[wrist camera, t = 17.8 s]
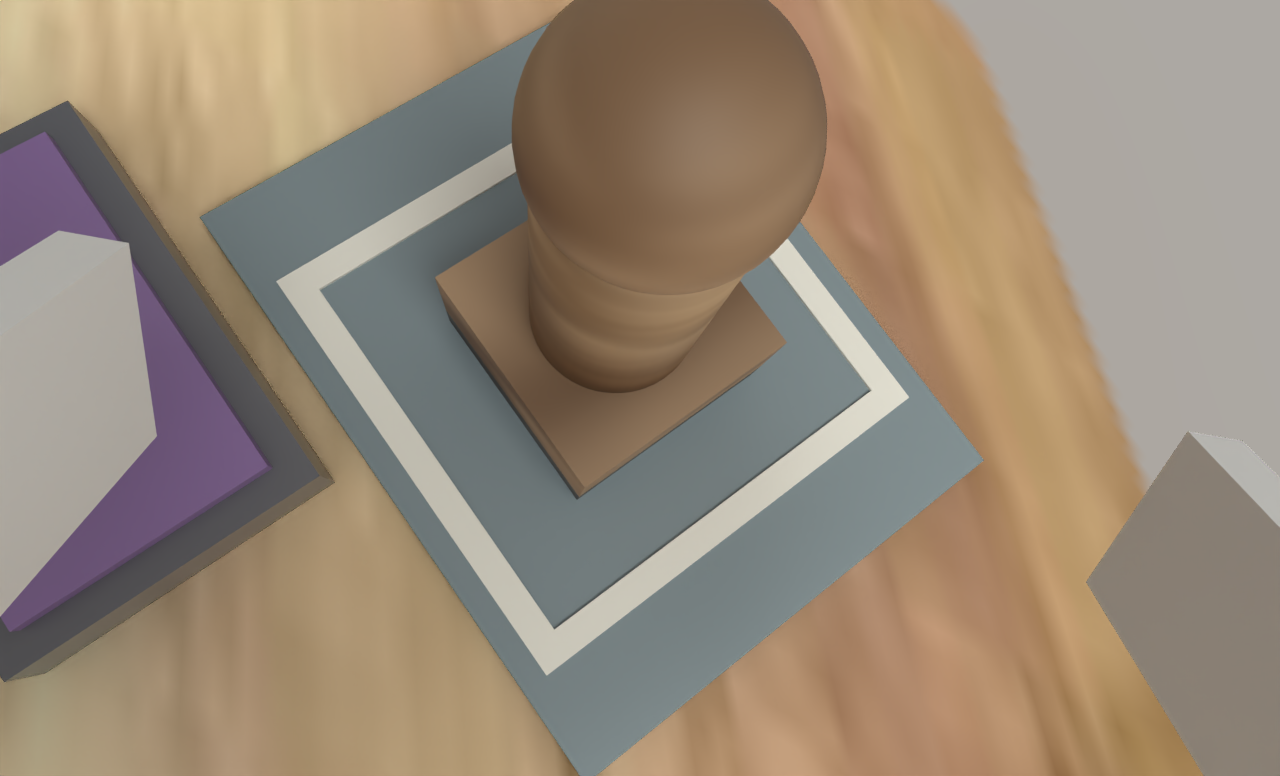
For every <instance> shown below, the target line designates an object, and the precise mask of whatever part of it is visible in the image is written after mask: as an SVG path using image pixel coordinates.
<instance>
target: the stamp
mask: <svg viewBox="0 0 1280 776" xmlns="http://www.w3.org/2000/svg"><path fill="white" fill-rule="evenodd" d="M826 139H827V114H826V104H825V99H824V95H823V90H822V86H821V82H820V78H819V74H818V72H817V69H816V66H815V64H814V61H813V59H812V57H811V55H810V53H809V51H808V49H807V47H806V46H805V44H804V42H803V40H802V39H801V37H800V36H799V34H798V33H797V32H796V30H795V29H794V27H793V26H792V24H791V23H790V22H789V21H788V20H787V18H786V17H785V16H784V15H783V14H782V13H781V12H780V11H779V10H778V9H777V8H776V7H775V6H774V5H773V4H772V3H771V2H769V1H768V0H574V1H572V2H571V3H570V4H569V5H568V6H567V7H565V8H564V9H563V10H562V11H561V12H560V13H559V14H558V15H557V16H556V17H555V18H554V20H553V21H552V22H551V23H550V24H549V25H548V26H547V28H546V29H545V31H544V32H543V34H542V35H541V37H540V39H539V40H538V42H537V43H536V45H535V46H534V48H533V49H532V51H531V53H530V55H529V57H528V60H527V62H526V64H525V66H524V69H523V72H522V74H521V77H520V81H519V84H518V88H517V91H516V95H515V100H514V107H513V115H512V150H513V156H514V162H515V168H516V173H517V177H518V180H519V183H520V187H521V190H522V193H523V195H524V197H525V199H526V201H527V207H528V220H527V221H525V222H524V223H522V224H521V225H519V226H517V227H516V228H514V229H512V230H511V231H509V232H508V233H506V234H504V235H503V236H501V237H499V238H498V239H496V240H495V241H493V242H491V243H490V244H488V245H486V246H485V247H483V248H482V249H480V250H478V251H477V252H475V253H474V254H472V255H470V256H469V257H467V258H465V259H464V260H462V261H461V262H459V263H457V264H456V265H454V266H452V267H451V268H449V269H448V270H446V271H444V272H443V273H441V274H439V275H438V276H436V277H435V280H436V282H437V285H438V288H439V291H440V294H441V297H442V300H443V303H444V306H445V309H446V312H447V314H448V317H449V320H450V322H451V323H452V325H453V326H454V328H455V329H456V330H457V332H458V333H459V335H460V336H461V337H462V339H463V340H464V342H465V343H466V345H467V346H468V347H469V349H470V350H471V352H472V353H473V354H474V356H475V357H476V359H477V360H478V361H479V363H480V364H481V366H482V367H483V368H484V370H485V371H486V373H487V374H488V375H489V377H490V378H491V380H492V381H493V383H494V384H495V385H496V387H497V388H498V390H499V391H500V392H501V394H502V395H503V397H504V398H505V399H506V401H507V402H508V404H509V405H510V406H511V408H512V409H513V411H514V412H515V414H516V415H517V416H518V418H519V419H520V421H521V422H522V423H523V425H524V426H525V428H526V429H527V430H528V432H529V433H530V435H531V436H532V437H533V439H534V440H535V442H536V443H537V444H538V446H539V447H540V449H541V450H542V452H543V453H544V454H545V456H546V457H547V459H548V460H549V461H550V463H551V464H552V466H553V467H554V468H555V470H556V471H557V473H558V474H559V475H560V477H561V478H562V480H563V481H564V482H565V484H566V485H567V487H568V488H569V490H570V491H571V492H572V494H573V495H574V497H575V498H576V499H577V500H578V499H579V498H580V497H582V496H583V495H585V494H586V493H587V492H589V491H590V490H591V489H593V488H594V487H596V486H597V485H598V484H600V483H601V482H603V481H604V480H605V479H607V478H608V477H610V476H611V475H612V474H614V473H615V472H616V471H618V470H619V469H621V468H622V467H623V466H625V465H626V464H628V463H629V462H630V461H632V460H633V459H635V458H636V457H637V456H639V455H640V454H641V453H643V452H644V451H646V450H647V449H648V448H650V447H651V446H653V445H654V444H655V443H657V442H658V441H660V440H661V439H662V438H664V437H665V436H667V435H668V434H669V433H671V432H672V431H673V430H675V429H676V428H678V427H679V426H680V425H682V424H683V423H685V422H686V421H687V420H689V419H690V418H692V417H693V416H694V415H696V414H697V413H698V412H700V411H701V410H703V409H704V408H705V407H707V406H708V405H710V404H711V403H712V402H714V401H715V400H717V399H718V398H719V397H721V396H722V395H723V394H725V393H726V392H728V391H729V390H730V389H732V388H733V387H735V386H736V385H737V384H739V383H740V382H742V381H743V380H744V379H746V378H747V377H748V376H750V375H751V374H752V373H753V372H754V371H756V370H757V369H758V368H759V367H760V366H761V365H762V364H764V363H765V362H766V361H767V360H768V359H769V358H770V357H771V356H773V355H774V354H775V353H776V352H777V351H778V350H779V349H781V348H782V347H783V346H784V345H785V344H786V343H787V342H786V340H785V339H784V338H783V336H782V335H781V334H780V333H779V331H778V330H777V329H776V327H775V326H774V325H773V323H772V322H771V321H770V319H769V318H768V317H767V315H766V314H765V313H764V311H763V310H762V309H761V307H760V306H759V305H758V304H757V302H756V301H755V300H754V298H753V297H752V296H751V294H750V293H749V292H748V290H747V289H746V288H745V286H744V285H743V284H742V282H741V281H740V280H741V279H742V277H743V276H744V274H746V273H747V272H749V271H751V270H753V269H754V268H756V267H757V266H758V265H760V264H761V263H762V262H763V261H765V260H766V259H767V258H769V257H770V256H771V255H772V254H773V253H774V252H775V251H776V250H777V249H778V248H779V247H780V246H781V245H782V244H783V243H784V242H785V240H786V239H787V238H788V237H789V236H790V235H791V233H792V232H793V231H794V229H795V228H796V226H797V225H798V224H799V222H800V221H801V219H802V217H803V215H804V214H805V212H806V210H807V208H808V206H809V204H810V202H811V200H812V198H813V196H814V194H815V191H816V188H817V185H818V182H819V179H820V176H821V172H822V169H823V164H824V158H825V153H826Z"/></svg>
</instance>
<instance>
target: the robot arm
mask: <svg viewBox="0 0 1280 776" xmlns="http://www.w3.org/2000/svg"><path fill="white" fill-rule="evenodd" d="M156 437H157V433H156V426H155V419H154V413H153V406H152V399H151V392H150V385H149V378H148V371H147V364H146V357H145V351H144V344H143V337H142V330H141V323H140V316H139V309H138V302H137V295H136V288H135V282H134V275H133V268H132V261H131V254H130V247H129V243H126V242H120V241H115V240H109V239H104V238H98V237H92V236H87V235H81V234H75V233H70V232H64V231H57V232H55V233H54V234H52V235H50V236H49V237H47V238H46V239H44V240H42V241H41V242H39V243H37V244H36V245H34V246H33V247H31V248H29V249H28V250H26V251H24V252H23V253H21V254H20V255H18V256H16V257H15V258H13V259H11V260H10V261H8V262H6V263H5V264H3V265H2V266H0V616H1V615H2V614H3V613H4V612H5V610H6V609H7V608H8V607H9V606H10V605H11V604H12V602H13V601H14V600H15V599H16V598H17V597H18V595H19V594H20V593H21V592H22V591H23V590H24V589H25V587H26V586H27V585H28V584H29V583H30V582H31V580H32V579H33V578H34V577H35V576H36V575H37V574H38V572H39V571H40V570H41V569H42V568H43V567H44V566H45V564H46V563H47V562H48V561H49V560H50V559H51V557H52V556H53V555H54V554H55V553H56V552H57V551H58V549H59V548H60V547H61V546H62V545H63V544H64V542H65V541H66V540H67V539H68V538H69V537H70V536H71V534H72V533H73V532H74V531H75V530H76V529H77V528H78V526H79V525H80V524H81V523H82V522H83V521H84V519H85V518H86V517H87V516H88V515H89V514H90V513H91V511H92V510H93V509H94V508H95V507H96V506H97V504H98V503H99V502H100V501H101V500H102V499H103V498H104V496H105V495H106V494H107V493H108V492H109V491H110V489H111V488H112V487H113V486H114V485H115V484H116V483H117V481H118V480H119V479H120V478H121V477H122V476H123V475H124V473H125V472H126V471H127V470H128V469H129V468H130V466H131V465H132V464H133V463H134V462H135V461H136V460H137V458H138V457H139V456H140V455H141V454H142V453H143V451H144V450H145V449H146V448H147V447H148V446H149V445H150V443H151V442H152V441H153V440H154V439H155V438H156ZM1086 583H1087V584H1088V586H1089V588H1090V589H1091V591H1092V593H1093V594H1094V596H1095V598H1096V599H1097V601H1098V602H1099V604H1100V606H1101V607H1102V609H1103V611H1104V612H1105V614H1106V616H1107V617H1108V619H1109V621H1110V622H1111V624H1112V625H1113V627H1114V629H1115V630H1116V632H1117V634H1118V635H1119V637H1120V639H1121V640H1122V642H1123V644H1124V645H1125V647H1126V649H1127V650H1128V652H1129V653H1130V655H1131V657H1132V658H1133V660H1134V662H1135V663H1136V665H1137V667H1138V668H1139V670H1140V672H1141V673H1142V675H1143V676H1144V678H1145V680H1146V681H1147V683H1148V685H1149V686H1150V688H1151V690H1152V691H1153V693H1154V695H1155V696H1156V698H1157V700H1158V701H1159V703H1160V704H1161V706H1162V708H1163V709H1164V711H1165V713H1166V714H1167V716H1168V718H1169V719H1170V721H1171V723H1172V724H1173V726H1174V727H1175V729H1176V731H1177V732H1178V734H1179V736H1180V737H1181V739H1182V741H1183V742H1184V744H1185V746H1186V747H1187V749H1188V751H1189V752H1190V754H1191V755H1192V757H1193V759H1194V760H1195V762H1196V764H1197V765H1198V767H1199V769H1200V770H1201V772H1202V774H1203V775H1204V776H1280V477H1279V476H1278V475H1277V474H1276V473H1275V472H1274V471H1273V470H1272V469H1271V468H1270V467H1269V466H1268V465H1267V464H1266V463H1265V462H1264V461H1263V460H1262V459H1261V458H1260V457H1258V455H1257V454H1256V453H1254V452H1253V451H1252V450H1251V449H1250V448H1249V447H1248V446H1247V445H1246V444H1245V443H1244V442H1243V441H1241V440H1235V439H1230V438H1225V437H1219V436H1213V435H1208V434H1202V433H1196V432H1191V431H1188V432H1187V433H1186V435H1185V436H1184V438H1183V439H1182V441H1181V442H1180V443H1179V445H1178V446H1177V448H1176V449H1175V451H1174V452H1173V454H1172V455H1171V457H1170V458H1169V460H1168V461H1167V463H1166V464H1165V466H1164V467H1163V469H1162V470H1161V472H1160V473H1159V475H1158V476H1157V478H1156V479H1155V480H1154V482H1153V483H1152V485H1151V486H1150V488H1149V489H1148V491H1147V492H1146V494H1145V495H1144V497H1143V498H1142V500H1141V501H1140V503H1139V504H1138V506H1137V507H1136V509H1135V510H1134V512H1133V513H1132V515H1131V516H1130V518H1129V519H1128V521H1127V522H1126V523H1125V525H1124V526H1123V528H1122V529H1121V531H1120V532H1119V534H1118V535H1117V537H1116V538H1115V540H1114V541H1113V543H1112V544H1111V546H1110V547H1109V549H1108V550H1107V552H1106V553H1105V555H1104V556H1103V558H1102V559H1101V561H1100V562H1099V564H1098V565H1097V566H1096V568H1095V569H1094V571H1093V572H1092V574H1091V575H1090V577H1089V578H1088V580H1087V581H1086Z"/></svg>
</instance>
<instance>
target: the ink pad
mask: <svg viewBox="0 0 1280 776" xmlns="http://www.w3.org/2000/svg"><path fill="white" fill-rule="evenodd" d="M57 231H64V232H70V233H75V234H81V235H87V236H92V237H98V238H104V239H109V240H115V241H120V242H126V243H129V247H130V254H131V261H132V268H133V275H134V282H135V288H136V295H137V302H138V309H139V316H140V323H141V330H142V337H143V344H144V351H145V357H146V364H147V371H148V378H149V385H150V392H151V399H152V406H153V413H154V419H155V426H156V433H157V437H156V438H155V439H154V440H153V441H152V442H151V443H150V445H149V446H148V447H147V448H146V449H145V450H144V451H143V453H142V454H141V455H140V456H139V457H138V458H137V460H136V461H135V462H134V463H133V464H132V465H131V466H130V468H129V469H128V470H127V471H126V472H125V473H124V475H123V476H122V477H121V478H120V479H119V480H118V481H117V483H116V484H115V485H114V486H113V487H112V488H111V489H110V491H109V492H108V493H107V494H106V495H105V496H104V498H103V499H102V500H101V501H100V502H99V503H98V504H97V506H96V507H95V508H94V509H93V510H92V511H91V513H90V514H89V515H88V516H87V517H86V518H85V519H84V521H83V522H82V523H81V524H80V525H79V526H78V528H77V529H76V530H75V531H74V532H73V533H72V534H71V536H70V537H69V538H68V539H67V540H66V541H65V542H64V544H63V545H62V546H61V547H60V548H59V549H58V551H57V552H56V553H55V554H54V555H53V556H52V557H51V559H50V560H49V561H48V562H47V563H46V564H45V566H44V567H43V568H42V569H41V570H40V571H39V572H38V574H37V575H36V576H35V577H34V578H33V579H32V580H31V582H30V583H29V584H28V585H27V586H26V587H25V589H24V590H23V591H22V592H21V593H20V594H19V595H18V597H17V598H16V599H15V600H14V601H13V602H12V604H11V605H10V606H9V607H8V608H7V609H6V610H5V612H4V613H3V614H2V615H1V616H0V676H1V678H2V680H3V681H4V682H7V681H12V680H16V679H21V678H26V677H30V676H35V675H39V674H44V673H46V672H48V671H49V670H51V669H52V668H54V667H55V666H57V665H58V664H60V663H61V662H63V661H64V660H66V659H67V658H69V657H70V656H72V655H73V654H75V653H76V652H78V651H80V650H81V649H83V648H84V647H86V646H87V645H89V644H90V643H92V642H93V641H95V640H96V639H98V638H99V637H101V636H102V635H104V634H105V633H107V632H108V631H110V630H111V629H113V628H114V627H116V626H117V625H119V624H120V623H122V622H124V621H125V620H127V619H128V618H130V617H131V616H133V615H134V614H136V613H137V612H139V611H140V610H142V609H143V608H145V607H146V606H148V605H149V604H151V603H152V602H154V601H155V600H157V599H158V598H160V597H161V596H163V595H165V594H166V593H168V592H169V591H171V590H172V589H174V588H175V587H177V586H178V585H180V584H181V583H183V582H184V581H186V580H187V579H189V578H190V577H192V576H193V575H195V574H196V573H198V572H199V571H201V570H202V569H204V568H205V567H207V566H209V565H210V564H212V563H213V562H215V561H216V560H218V559H219V558H221V557H222V556H224V555H225V554H227V553H228V552H230V551H231V550H233V549H234V548H236V547H237V546H239V545H240V544H242V543H243V542H245V541H246V540H248V539H250V538H251V537H253V536H254V535H256V534H257V533H259V532H260V531H262V530H263V529H265V528H266V527H268V526H269V525H271V524H272V523H274V522H275V521H277V520H278V519H280V518H281V517H283V516H284V515H286V514H287V513H289V512H290V511H292V510H294V509H295V508H297V507H298V506H300V505H301V504H303V503H304V502H306V501H307V500H309V499H310V498H312V497H313V496H315V495H316V494H318V493H319V492H321V491H322V490H324V489H325V488H327V487H328V486H330V485H331V484H333V483H335V482H334V480H333V479H332V477H331V476H330V474H329V473H328V471H327V470H326V468H325V467H324V465H323V464H322V462H321V461H320V459H319V458H318V456H317V455H316V453H315V452H314V450H313V449H312V447H311V446H310V444H309V443H308V442H307V440H306V439H305V437H304V436H303V434H302V433H301V431H300V430H299V428H298V427H297V425H296V424H295V422H294V421H293V419H292V418H291V416H290V415H289V413H288V412H287V410H286V409H285V407H284V406H283V404H282V403H281V401H280V400H279V398H278V397H277V396H276V394H275V393H274V391H273V390H272V388H271V387H270V385H269V384H268V382H267V381H266V379H265V378H264V376H263V375H262V373H261V372H260V370H259V369H258V367H257V366H256V364H255V363H254V361H253V360H252V358H251V357H250V355H249V354H248V353H247V351H246V350H245V348H244V347H243V345H242V344H241V342H240V341H239V339H238V338H237V336H236V335H235V333H234V332H233V330H232V329H231V327H230V326H229V324H228V323H227V321H226V320H225V318H224V317H223V315H222V314H221V312H220V311H219V310H218V308H217V307H216V305H215V304H214V302H213V301H212V299H211V298H210V296H209V295H208V293H207V292H206V290H205V289H204V287H203V286H202V284H201V283H200V281H199V280H198V278H197V277H196V275H195V274H194V272H193V271H192V269H191V268H190V267H189V265H188V264H187V262H186V261H185V259H184V258H183V256H182V255H181V253H180V252H179V250H178V249H177V247H176V246H175V244H174V243H173V241H172V240H171V238H170V237H169V235H168V234H167V232H166V231H165V229H164V228H163V226H162V225H161V223H160V222H159V221H158V219H157V218H156V216H155V215H154V213H153V212H152V210H151V209H150V207H149V206H148V204H147V203H146V201H145V200H144V198H143V197H142V195H141V194H140V192H139V191H138V189H137V188H136V186H135V185H134V183H133V182H132V180H131V179H130V178H129V176H128V175H127V173H126V172H125V170H124V169H123V167H122V166H121V164H120V163H119V161H118V160H117V158H116V157H115V155H114V154H113V152H112V151H111V149H110V148H109V146H108V145H107V143H106V142H105V140H104V139H103V137H102V136H101V135H100V133H99V132H98V131H97V130H96V129H95V128H94V127H93V126H92V125H91V124H90V123H89V122H88V121H87V120H86V119H85V118H84V117H83V116H82V115H81V114H80V113H79V112H78V111H77V110H76V109H75V108H74V107H73V106H72V105H71V104H70V103H69V102H68V101H66V102H64V103H62V104H60V105H58V106H56V107H54V108H52V109H50V110H48V111H46V112H44V113H42V114H40V115H38V116H36V117H34V118H32V119H30V120H28V121H26V122H24V123H22V124H20V125H18V126H16V127H14V128H12V129H10V130H8V131H6V132H4V133H2V134H0V266H2V265H3V264H5V263H6V262H8V261H10V260H11V259H13V258H15V257H16V256H18V255H20V254H21V253H23V252H24V251H26V250H28V249H29V248H31V247H33V246H34V245H36V244H37V243H39V242H41V241H42V240H44V239H46V238H47V237H49V236H50V235H52V234H54V233H55V232H57Z"/></svg>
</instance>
